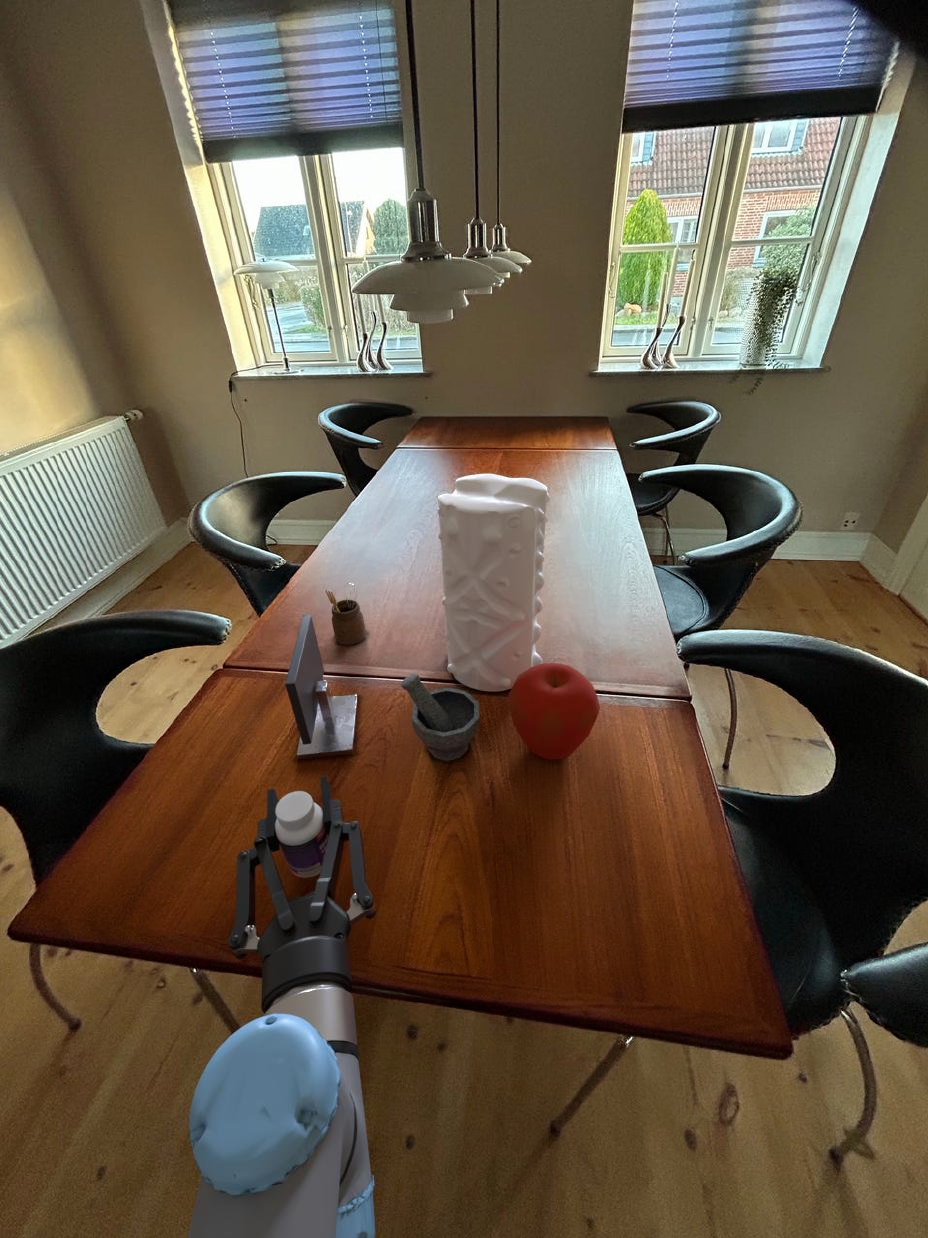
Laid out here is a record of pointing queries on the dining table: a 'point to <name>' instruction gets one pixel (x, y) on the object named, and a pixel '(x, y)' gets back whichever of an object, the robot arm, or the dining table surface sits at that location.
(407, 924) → the dining table surface
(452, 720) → the mortar and pestle
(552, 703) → the apple
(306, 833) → the pill bottle
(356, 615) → the utensil holder
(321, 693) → the monitor stand
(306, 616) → the monitor screen
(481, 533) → the vase
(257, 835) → the robot arm
